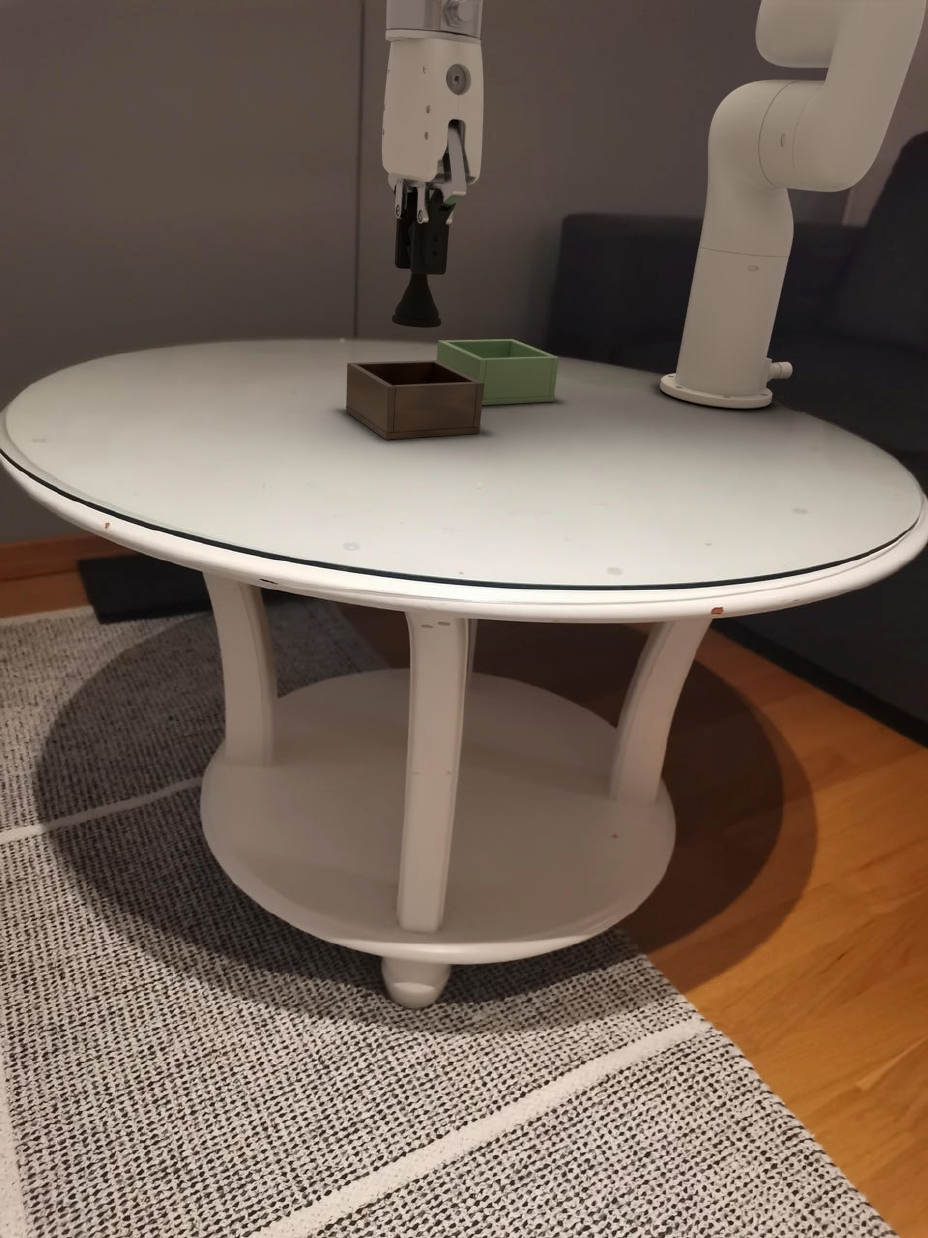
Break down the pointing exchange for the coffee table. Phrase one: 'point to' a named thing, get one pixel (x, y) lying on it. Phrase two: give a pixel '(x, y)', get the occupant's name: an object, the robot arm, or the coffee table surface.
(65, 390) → the coffee table surface
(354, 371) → the dark bin
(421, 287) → the chess piece
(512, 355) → the light bin
